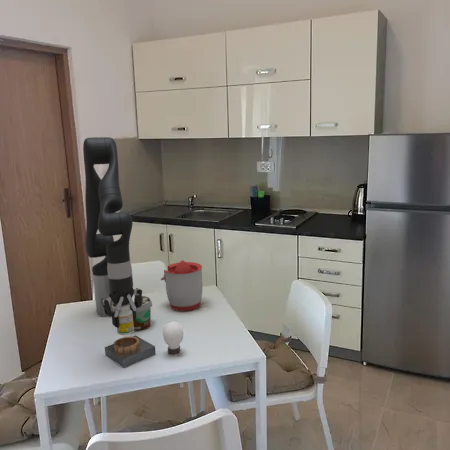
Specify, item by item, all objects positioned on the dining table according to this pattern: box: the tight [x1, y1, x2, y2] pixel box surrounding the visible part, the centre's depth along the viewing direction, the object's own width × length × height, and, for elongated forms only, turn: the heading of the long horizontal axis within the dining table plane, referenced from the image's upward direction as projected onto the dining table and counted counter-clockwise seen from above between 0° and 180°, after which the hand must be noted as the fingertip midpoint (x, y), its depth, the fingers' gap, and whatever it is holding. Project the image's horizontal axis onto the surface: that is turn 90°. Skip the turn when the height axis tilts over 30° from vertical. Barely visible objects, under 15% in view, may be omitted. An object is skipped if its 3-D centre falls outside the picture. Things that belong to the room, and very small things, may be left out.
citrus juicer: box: [160, 260, 203, 312], centre depth 194 cm, size 16×17×20 cm
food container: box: [133, 295, 153, 332], centre depth 177 cm, size 12×6×10 cm, turn 168°
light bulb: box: [162, 320, 184, 356], centre depth 155 cm, size 7×7×11 cm
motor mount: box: [104, 335, 157, 369], centre depth 156 cm, size 12×12×5 cm
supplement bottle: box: [116, 304, 135, 336], centre depth 153 cm, size 5×5×10 cm
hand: (124, 323), depth 153 cm, fingers closed on supplement bottle, 5 cm apart
